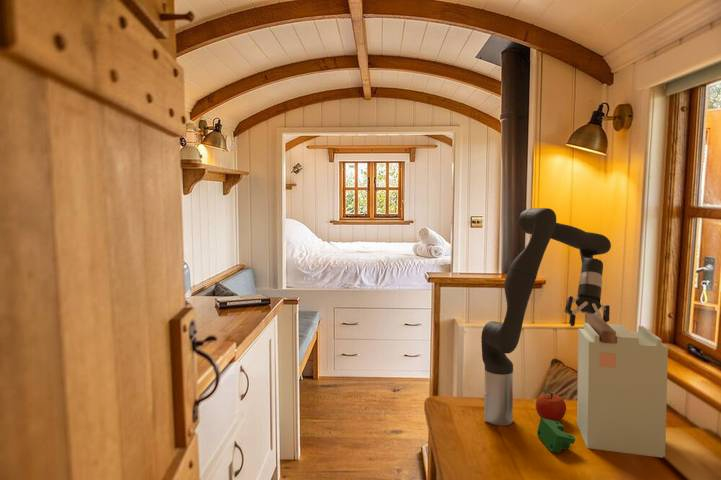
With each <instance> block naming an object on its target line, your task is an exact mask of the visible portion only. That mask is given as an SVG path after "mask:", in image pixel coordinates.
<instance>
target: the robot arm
mask: <svg viewBox="0 0 721 480" xmlns="http://www.w3.org/2000/svg"><path fill="white" fill-rule="evenodd" d="M518 226H519V228H520V230H521V231H522V232H523V233H525V234H528V235H531V236H530V238H529V241H528V243H527V245H526V246H525V248H524V249H523V250H522V251H521V252H520V253H519V254H518V255H517V256H516V257H515V259H513V261H512V262H511V263H510V265H509V267H508V271H507V273H506V276H505V279H504V283H503V284H504V285H503V287H504V288H503V289H504V294H505V301H506V313H505V317H504V319H503V323H502V322H499V321H497V320H496V321H495V320H492V321H488V322H486V323H485V325H484V326H483V329H482V331H481V358H482V362H483V365H484V394H483V395H484V404H483V405H484V408H483V410H484V411H483V414H484V415H483V416H484V417H483V418H484V419H483V420H484V422H485V423H489V424H491V425H495V426H510V425H512V424H513V422H514V364H513V362H512V360H510V359H509V357H508V356H507V355H508V354H511V353H512V352H514V351H515V350H516V348H517V346H518V344H519V341H520V338H521V334H522V329H523V323H524V319H525V314H526V311H527V307H528V303H529V300H530V298H531V294H532V292H533V289H534V285H535V283H536V280H537V276H538V272H539V270H540V269H539V268H540V267H541V263H542V260H543V257H544V255H545V252H546V250H547V248H548V246H549V243H550V240H554V241H557V242H559V243H562V244H565V245H567V246H569V247H572V248H574V249H576V250H579V255H580V260H581V270H580V276H579V280H578V282H577V283H578V288H577V295H576V298H575V297H573V296H568V297H567V299H566V304H565V308H564V313H565V314H567V315H569V318H568V319H569V321H568V323H569V324H568V325H569V326H570V327H573V328H574V327H575V325H576V324H575V323H576V318H577V317H576V314H578V313H579V312H581V313H583V314H585V313H588V314H597V315H598V316H599V317H600V318H601V319H602V320H604V321H605V322H606V323H608V322H610V310H611V309H610V308H611V307H610V305H608V304H606V305H603V304H601V299H602V298H601V297H602V290H603V289H602V287H603V270H604V262H603V261H602V260H601V259H599V258H594V256H598V255H599V256H600V255H605V254H607V253H609V252H610V250H611V248H612V247H611V246H612V243H611V241H610V238H608V237H607V236H605V235H603V234H601V233H596V232H592V231H591V232H590V231H589V232H588V231H585V230H583V229H580V228H577V227H576V226H573V225H570V224H565V223H560V222H557V215H556V212H555V211H554V210H553V209H552V208H546V207H538V208H537V207H535V208H527V209H525V210H523V211H522V212H520V214H519V217H518ZM574 303H575V304H576V306H577V307H576V308H575V309H573V310H572V305H573V304H574ZM600 309H601V312H602V314H601V312H600Z"/></svg>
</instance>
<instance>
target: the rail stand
mask: <svg viewBox="0 0 721 480" xmlns="http://www.w3.org/2000/svg"><path fill="white" fill-rule="evenodd" d="M607 324H608V325H609V326H610V327H611V328H612V329H613V330H615V331H616V344H613V343H602V342H601V341H600V340H599V335H598V334H597V333H596V331H595V330H594V329H593V328H592V327H591V326H590V325H589V324H588V323H585V322H584V323H583V328H578V329H577V331H578V333H577V334H578V338H577V339H578V340H577V347H578V348H577V393H576V394H577V398H576V399H577V402H576V403H577V404H576V405H577V406H576V410H577V411H576V414H577V415H576V425H577V427H578V429H579V431H580V434H581V436H582V438H583V441H584V444H585V447H586V449H590V450H591V449H593V450H599V451H607V452H615V453H624V454H631V455H638V456H647V457H656V458H663V456H665V457H666V445H667V444H666V439H667V437H666V436H667V429H666V428H667V401H668V396H667V395H668V357H669V354H668V353H669V347H668V345H666V344H665V343H663V342H662V340H663V339H662V338H661V337H659V336H657V335H656V334H654V333H653V332H651V331H650V330H649V329H647V327H645V326H643V325H638V328H637V329H638V330H637V331H630V330H629V329H628V328H627V327H626V326H625V325H623V324H614V323H613V324H610V323H607ZM663 459H664V458H663Z"/></svg>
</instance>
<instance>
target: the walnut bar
mask: <svg viewBox="0 0 721 480" xmlns="http://www.w3.org/2000/svg"><path fill="white" fill-rule="evenodd" d="M584 323H588V324H589V325H590V326H591V327H592V328H593V329H594V330H595V331H596V333H597V334H598V335H599V340H600V341H601V342H602V343H613V344H616V331H615V330H613V329H612V328H611V327H610V326H609V325H608V324H609V323H608V322H605V321H604V320H602V319H601V318H600V317H599V316H598V315H597V314H588V313H584Z"/></svg>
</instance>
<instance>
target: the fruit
mask: <svg viewBox="0 0 721 480" xmlns="http://www.w3.org/2000/svg"><path fill="white" fill-rule="evenodd" d="M539 393H542V394H540V395H539V396H538V397H537V398H536V401H535V409H536V412H537V414H538V416H539V417H540V419H541V418H544V419H548V420H553V421H557V422H560V421H561V420H562V419H563V418H564V417H565V415H566V412H567V405H566V401H565V400H564V399H563V398H562V396H560V395H556V394H554V393H553V392H550V390H548V389H542V390H540V391H539Z"/></svg>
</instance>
